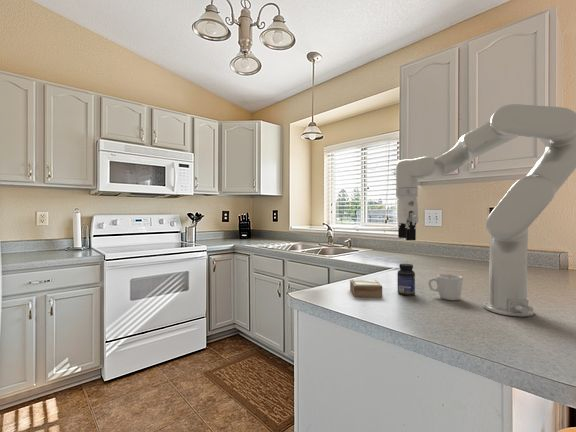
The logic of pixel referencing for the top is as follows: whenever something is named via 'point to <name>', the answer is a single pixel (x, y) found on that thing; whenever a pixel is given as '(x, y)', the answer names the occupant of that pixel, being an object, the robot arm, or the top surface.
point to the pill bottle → (406, 280)
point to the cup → (448, 286)
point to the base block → (365, 288)
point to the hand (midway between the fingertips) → (406, 239)
